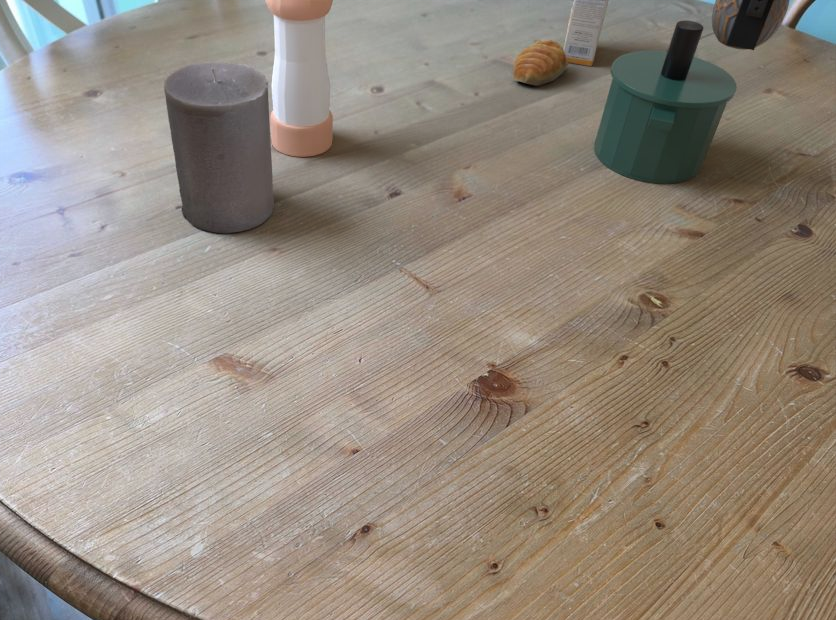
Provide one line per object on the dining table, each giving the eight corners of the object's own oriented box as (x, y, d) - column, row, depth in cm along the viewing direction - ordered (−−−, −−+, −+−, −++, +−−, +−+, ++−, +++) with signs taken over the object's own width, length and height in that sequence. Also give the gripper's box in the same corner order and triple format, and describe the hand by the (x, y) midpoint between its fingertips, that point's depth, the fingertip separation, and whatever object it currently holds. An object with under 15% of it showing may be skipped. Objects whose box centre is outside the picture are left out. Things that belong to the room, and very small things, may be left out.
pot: (704, 134, 96) (732, 61, 89) (695, 205, 83) (727, 126, 77) (605, 113, 98) (625, 41, 92) (582, 179, 86) (603, 101, 80)
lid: (734, 74, 88) (757, 15, 83) (730, 124, 79) (756, 61, 74) (617, 52, 91) (633, -6, 86) (600, 97, 82) (617, 35, 77)
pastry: (545, 94, 102) (551, 66, 99) (499, 81, 104) (504, 54, 102) (568, 70, 108) (574, 43, 105) (525, 59, 110) (529, 32, 108)
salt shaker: (281, 123, 93) (274, -44, 79) (338, 131, 92) (341, -37, 79) (263, 152, 88) (253, -22, 74) (324, 161, 87) (324, -14, 73)
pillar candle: (164, 220, 77) (138, 78, 66) (212, 174, 84) (196, 39, 73) (248, 244, 75) (235, 101, 64) (291, 195, 81) (286, 59, 71)
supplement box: (565, 41, 116) (585, -52, 106) (596, 46, 115) (620, -47, 106) (559, 62, 110) (580, -34, 101) (592, 67, 109) (616, -29, 100)
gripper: (797, -258, 70) (709, -3, 86) (804, -236, 57) (698, 61, 73) (883, -250, 69) (777, 8, 85) (912, -226, 55) (779, 76, 71)
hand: (741, 32), depth 79 cm, fingers closed on vase, 7 cm apart
